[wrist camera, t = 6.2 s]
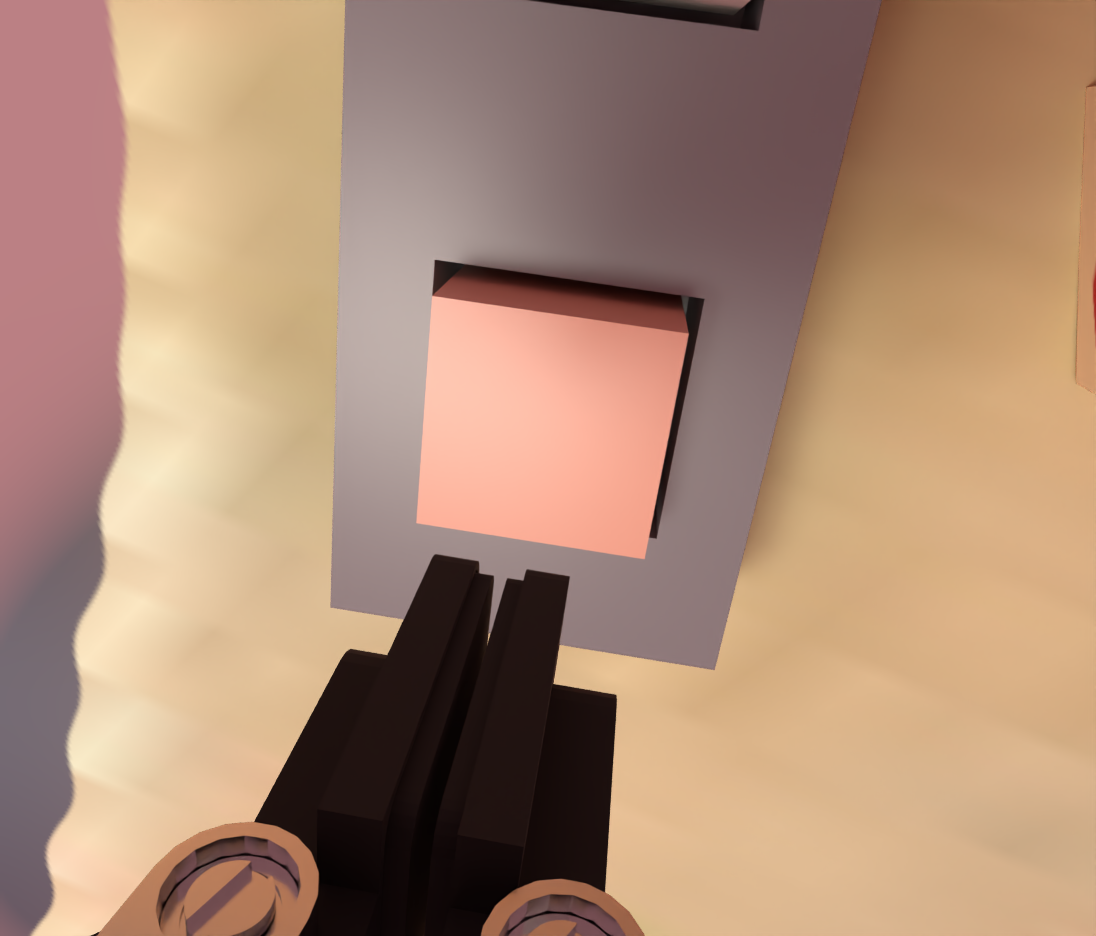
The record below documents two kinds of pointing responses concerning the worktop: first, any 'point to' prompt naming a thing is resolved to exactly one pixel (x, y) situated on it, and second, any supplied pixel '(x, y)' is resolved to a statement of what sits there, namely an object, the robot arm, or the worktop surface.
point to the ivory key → (700, 5)
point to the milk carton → (1087, 254)
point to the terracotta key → (548, 408)
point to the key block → (585, 261)
